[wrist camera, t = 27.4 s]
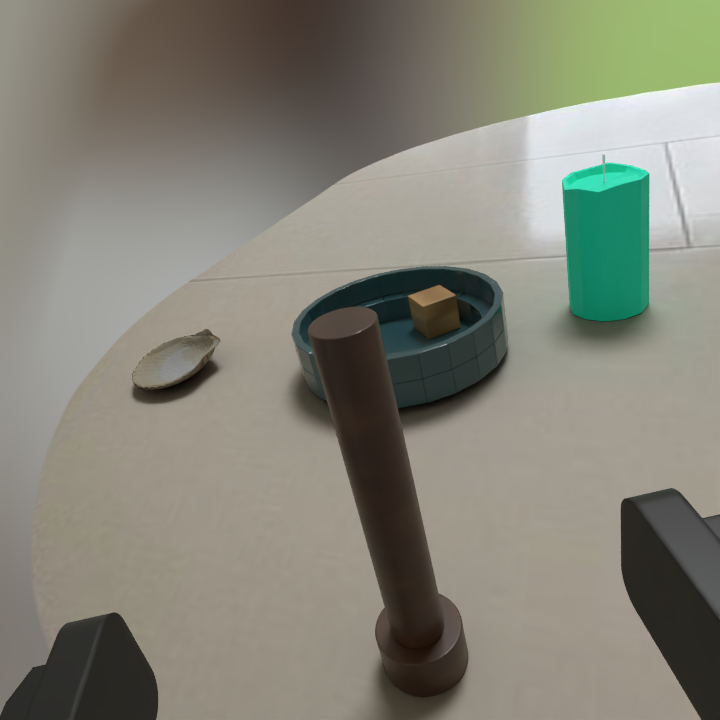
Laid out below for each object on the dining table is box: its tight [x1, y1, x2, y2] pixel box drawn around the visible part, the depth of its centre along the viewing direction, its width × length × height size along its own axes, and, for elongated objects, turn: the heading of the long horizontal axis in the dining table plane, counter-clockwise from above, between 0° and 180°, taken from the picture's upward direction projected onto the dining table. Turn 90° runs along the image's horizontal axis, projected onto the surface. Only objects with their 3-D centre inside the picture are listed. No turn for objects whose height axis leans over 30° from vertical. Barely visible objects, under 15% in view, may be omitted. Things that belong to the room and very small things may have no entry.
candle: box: [562, 154, 649, 321], centre depth 48 cm, size 6×6×12 cm
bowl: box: [292, 266, 508, 408], centre depth 49 cm, size 16×16×4 cm
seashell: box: [132, 329, 220, 390], centre depth 56 cm, size 8×3×8 cm
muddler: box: [308, 307, 468, 696], centre depth 23 cm, size 4×4×16 cm
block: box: [408, 285, 461, 339], centre depth 52 cm, size 3×3×3 cm
